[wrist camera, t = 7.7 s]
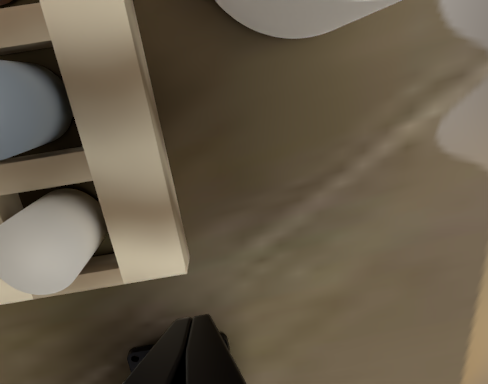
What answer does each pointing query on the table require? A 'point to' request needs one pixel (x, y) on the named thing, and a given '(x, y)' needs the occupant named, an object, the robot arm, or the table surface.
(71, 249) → the button cream
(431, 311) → the table surface
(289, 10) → the cup
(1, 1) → the button terracotta
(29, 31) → the board
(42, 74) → the button slate
